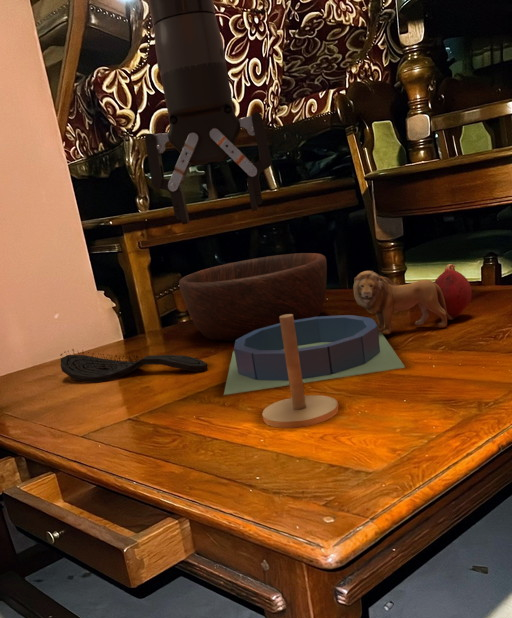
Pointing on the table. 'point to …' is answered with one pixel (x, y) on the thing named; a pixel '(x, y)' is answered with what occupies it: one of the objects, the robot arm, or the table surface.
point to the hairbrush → (121, 365)
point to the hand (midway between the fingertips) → (220, 217)
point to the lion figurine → (398, 298)
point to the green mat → (377, 364)
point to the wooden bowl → (254, 293)
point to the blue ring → (313, 360)
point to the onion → (454, 291)
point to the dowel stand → (297, 390)
